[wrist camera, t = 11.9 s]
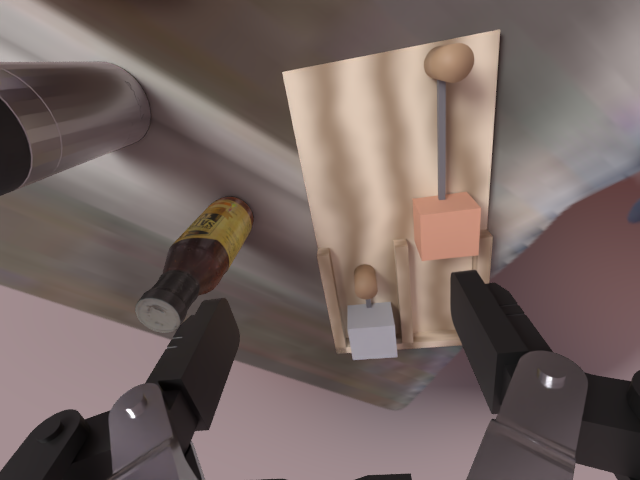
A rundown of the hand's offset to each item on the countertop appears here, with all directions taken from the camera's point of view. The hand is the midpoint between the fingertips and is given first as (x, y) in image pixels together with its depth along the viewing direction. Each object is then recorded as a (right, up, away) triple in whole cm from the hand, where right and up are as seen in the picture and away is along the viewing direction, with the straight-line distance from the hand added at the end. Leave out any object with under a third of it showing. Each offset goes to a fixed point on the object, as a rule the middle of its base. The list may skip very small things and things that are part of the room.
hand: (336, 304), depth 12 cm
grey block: (+7, -7, +38) cm, 39 cm away
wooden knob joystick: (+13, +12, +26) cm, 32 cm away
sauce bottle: (-13, +6, +34) cm, 36 cm away
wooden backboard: (+10, +5, +32) cm, 34 cm away
